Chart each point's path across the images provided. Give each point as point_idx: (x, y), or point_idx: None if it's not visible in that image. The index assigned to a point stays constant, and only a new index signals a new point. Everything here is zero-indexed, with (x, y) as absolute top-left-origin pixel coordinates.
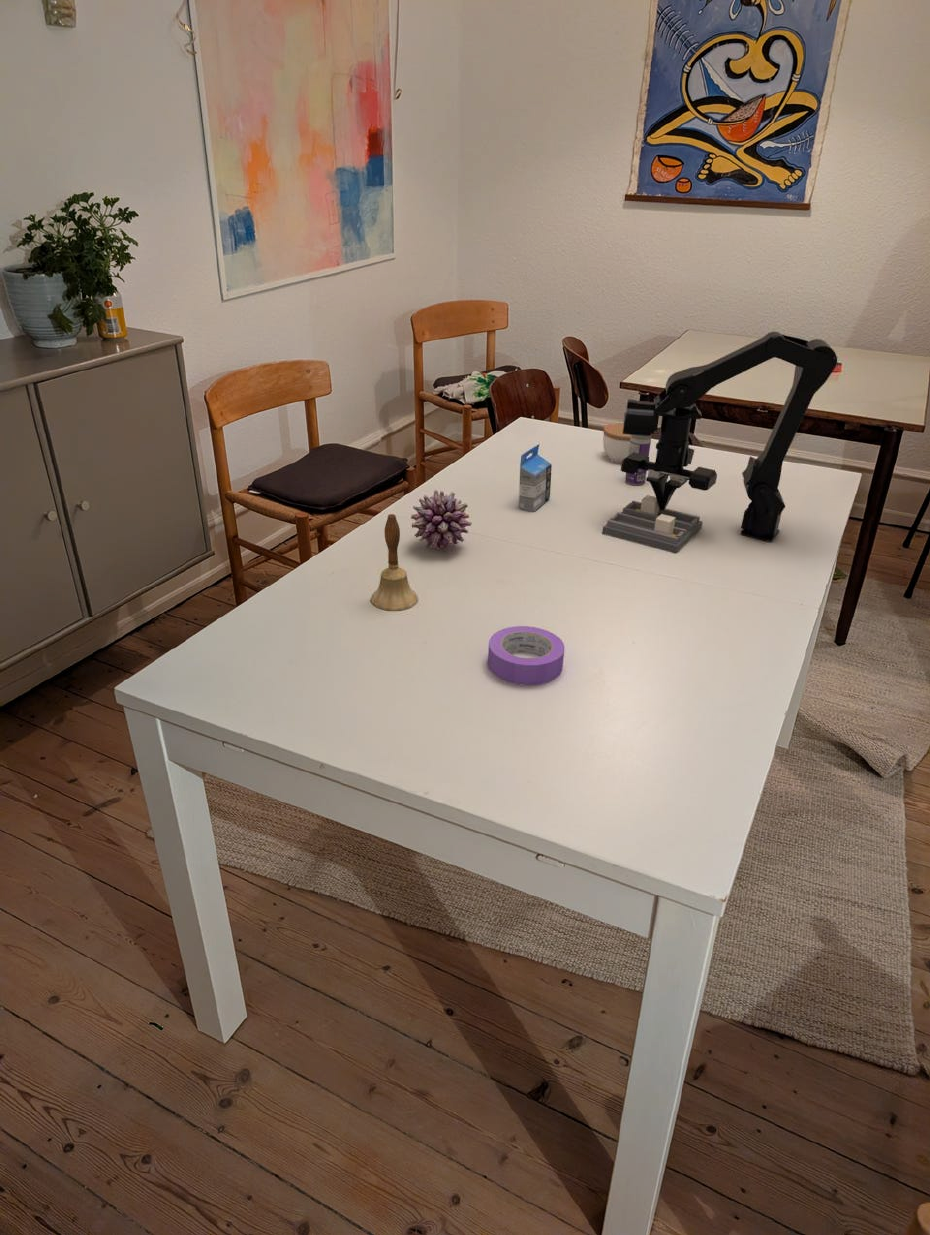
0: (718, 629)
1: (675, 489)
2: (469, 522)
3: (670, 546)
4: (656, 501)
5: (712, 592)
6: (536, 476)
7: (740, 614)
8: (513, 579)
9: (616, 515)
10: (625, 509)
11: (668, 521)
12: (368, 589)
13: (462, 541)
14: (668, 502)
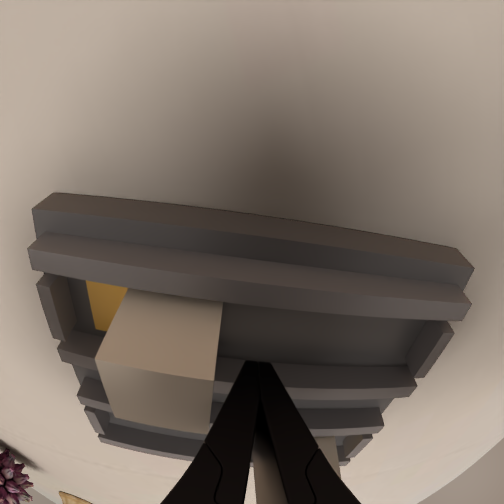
0: (384, 499)
1: (344, 497)
2: (19, 492)
3: None
4: (208, 425)
5: (396, 475)
6: None
7: (419, 480)
8: (120, 496)
9: (92, 415)
10: (73, 362)
11: None
12: (52, 489)
13: (28, 476)
14: (290, 399)
